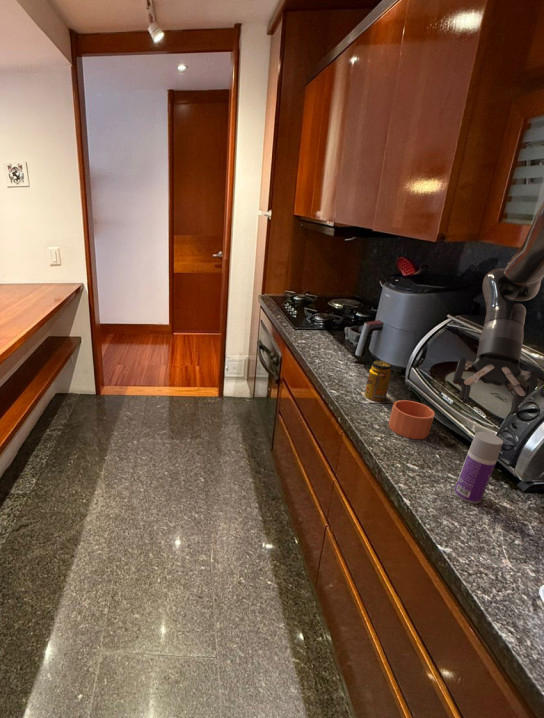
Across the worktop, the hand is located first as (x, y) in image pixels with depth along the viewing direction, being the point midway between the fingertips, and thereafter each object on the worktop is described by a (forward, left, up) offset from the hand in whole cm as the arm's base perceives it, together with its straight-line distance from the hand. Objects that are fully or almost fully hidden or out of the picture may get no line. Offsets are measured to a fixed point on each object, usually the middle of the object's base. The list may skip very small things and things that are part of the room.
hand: (489, 407), depth 85 cm
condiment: (+14, -32, -17) cm, 39 cm away
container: (+3, +10, -17) cm, 20 cm away
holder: (+9, -15, -17) cm, 25 cm away
